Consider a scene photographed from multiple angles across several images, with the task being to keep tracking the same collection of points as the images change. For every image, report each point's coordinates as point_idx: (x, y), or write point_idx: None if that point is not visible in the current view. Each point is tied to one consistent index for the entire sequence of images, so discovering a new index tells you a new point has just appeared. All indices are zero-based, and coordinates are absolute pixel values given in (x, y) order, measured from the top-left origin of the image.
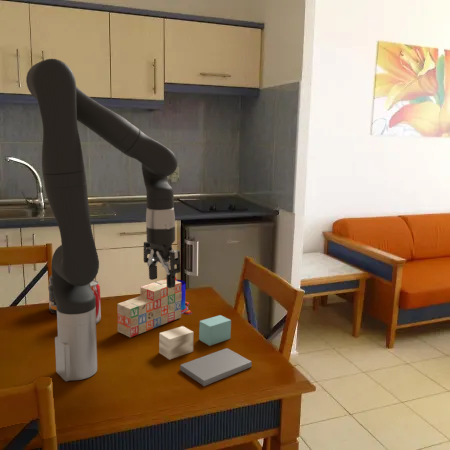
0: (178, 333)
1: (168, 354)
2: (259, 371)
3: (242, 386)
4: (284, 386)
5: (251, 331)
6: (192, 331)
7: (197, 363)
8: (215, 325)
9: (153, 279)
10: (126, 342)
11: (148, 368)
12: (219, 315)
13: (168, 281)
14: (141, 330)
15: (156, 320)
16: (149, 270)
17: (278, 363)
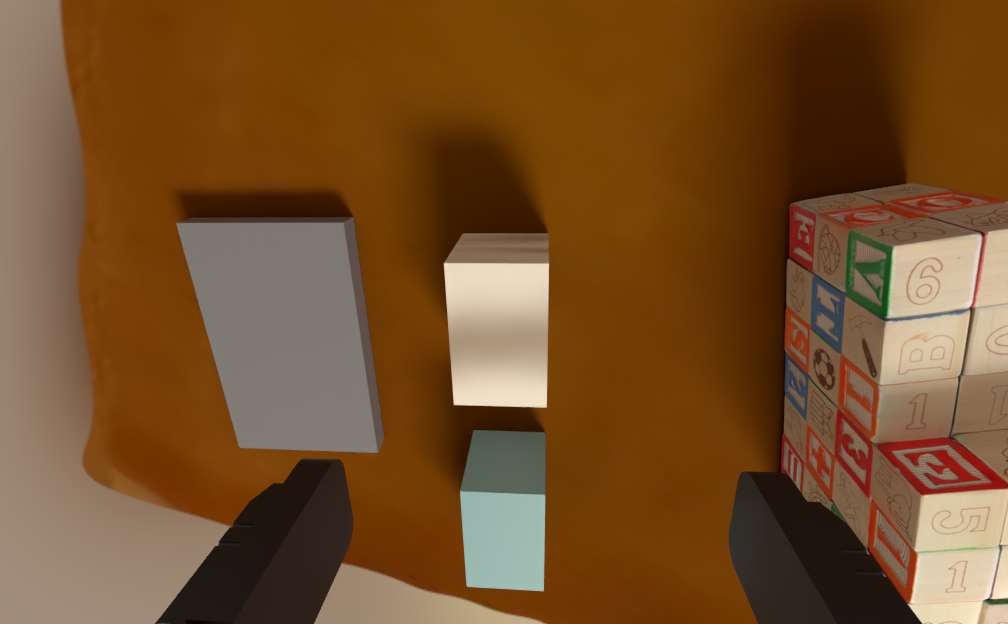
0: (480, 340)
1: (466, 238)
2: (212, 433)
3: (142, 327)
4: (97, 425)
5: (481, 596)
6: (461, 404)
7: (317, 287)
8: (462, 515)
9: (735, 500)
10: (761, 158)
11: (442, 104)
12: (540, 585)
13: (258, 524)
14: (792, 280)
15: (801, 387)
16: (846, 588)
17: (235, 507)
